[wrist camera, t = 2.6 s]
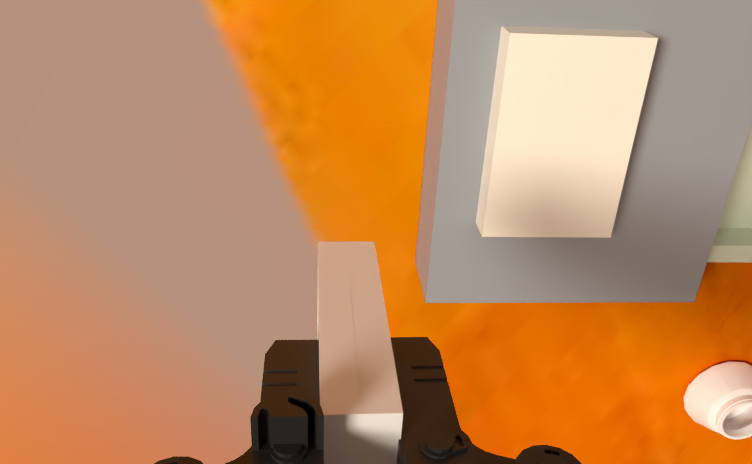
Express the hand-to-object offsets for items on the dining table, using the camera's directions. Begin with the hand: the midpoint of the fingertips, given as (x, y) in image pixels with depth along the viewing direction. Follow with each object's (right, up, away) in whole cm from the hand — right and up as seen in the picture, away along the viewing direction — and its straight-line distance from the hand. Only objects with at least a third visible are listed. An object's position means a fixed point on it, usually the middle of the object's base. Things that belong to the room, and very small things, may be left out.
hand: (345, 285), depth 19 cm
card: (+9, +6, +11) cm, 16 cm away
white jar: (+23, -8, +25) cm, 35 cm away
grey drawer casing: (+10, +8, +15) cm, 20 cm away
